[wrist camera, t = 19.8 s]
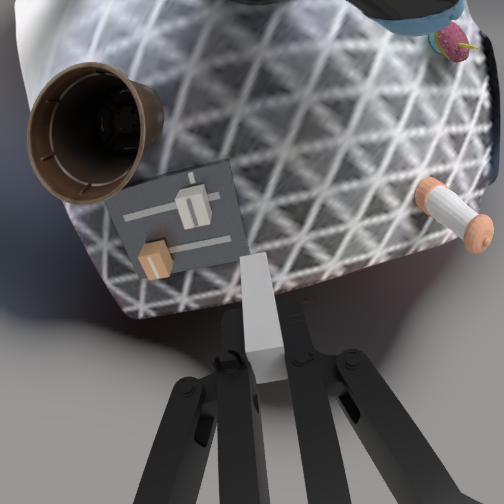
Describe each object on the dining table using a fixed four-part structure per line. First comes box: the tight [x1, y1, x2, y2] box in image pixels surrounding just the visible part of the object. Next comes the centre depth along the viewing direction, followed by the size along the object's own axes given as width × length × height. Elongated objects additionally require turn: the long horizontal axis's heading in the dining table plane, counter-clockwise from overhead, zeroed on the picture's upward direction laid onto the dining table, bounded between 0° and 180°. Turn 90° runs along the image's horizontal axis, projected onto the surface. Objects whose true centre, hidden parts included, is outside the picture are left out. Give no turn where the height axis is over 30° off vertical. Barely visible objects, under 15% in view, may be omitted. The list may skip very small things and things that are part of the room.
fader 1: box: [138, 240, 173, 280], centre depth 45 cm, size 5×4×4 cm
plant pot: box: [27, 62, 164, 205], centre depth 28 cm, size 16×16×16 cm
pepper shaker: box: [415, 177, 494, 254], centre depth 38 cm, size 7×7×19 cm
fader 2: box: [175, 184, 212, 229], centre depth 40 cm, size 5×4×4 cm
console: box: [105, 159, 250, 279], centre depth 45 cm, size 18×22×2 cm
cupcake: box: [429, 21, 479, 63], centre depth 23 cm, size 9×8×12 cm
